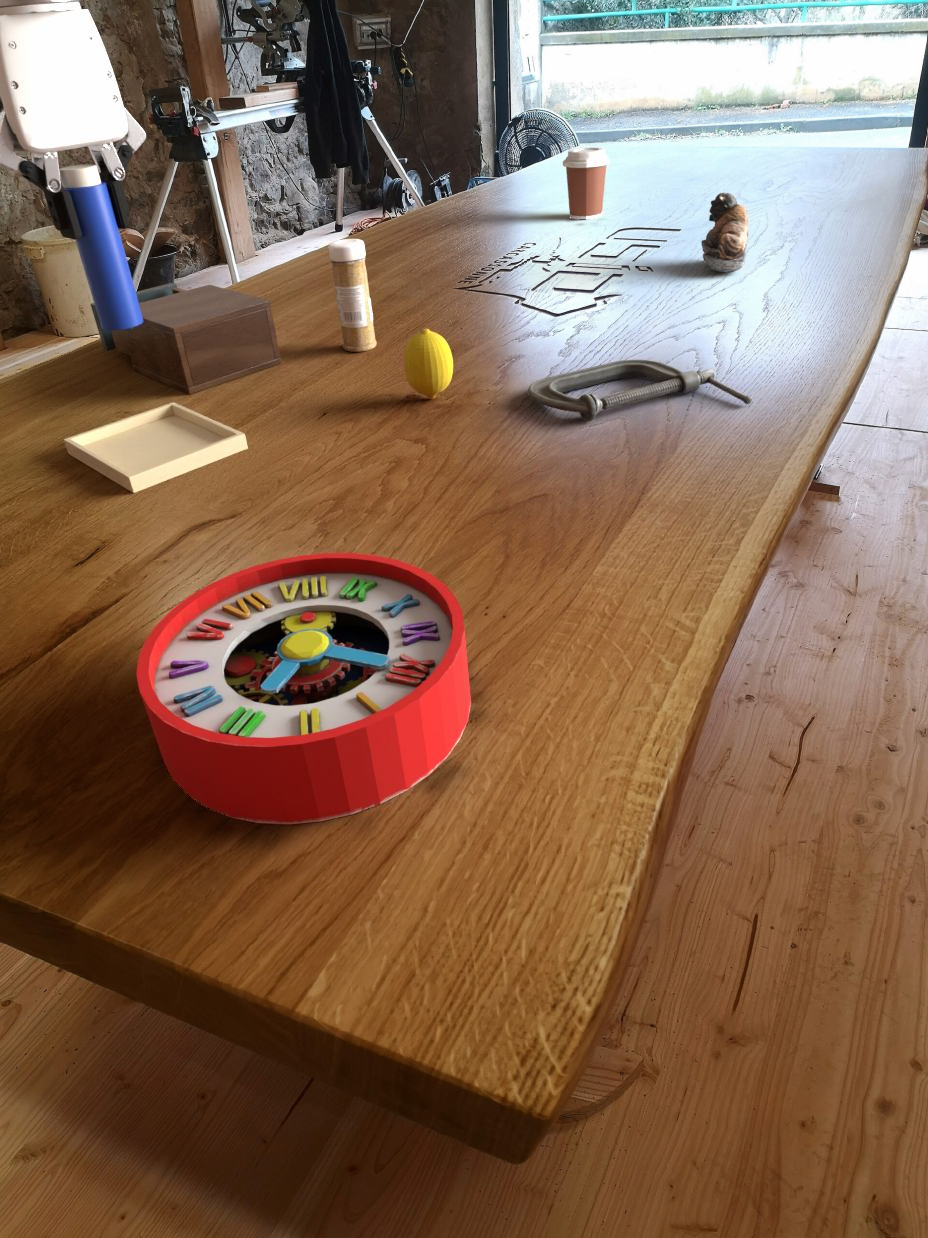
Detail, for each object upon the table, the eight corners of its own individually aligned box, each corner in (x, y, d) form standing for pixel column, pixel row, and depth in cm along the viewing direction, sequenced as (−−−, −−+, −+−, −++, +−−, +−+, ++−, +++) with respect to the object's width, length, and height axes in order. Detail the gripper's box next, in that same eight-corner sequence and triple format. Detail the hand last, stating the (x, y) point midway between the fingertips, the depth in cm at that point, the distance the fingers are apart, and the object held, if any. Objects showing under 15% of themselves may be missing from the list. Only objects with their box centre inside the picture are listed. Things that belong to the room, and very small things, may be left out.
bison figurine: (751, 275, 136) (759, 204, 131) (704, 278, 137) (710, 206, 131) (738, 256, 146) (745, 189, 140) (694, 259, 147) (699, 192, 141)
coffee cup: (585, 209, 186) (585, 145, 179) (618, 214, 180) (619, 147, 173) (553, 217, 182) (552, 151, 175) (586, 222, 176) (586, 154, 169)
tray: (68, 453, 97) (63, 439, 96) (176, 415, 104) (173, 401, 103) (133, 493, 88) (128, 477, 87) (248, 448, 95) (245, 433, 94)
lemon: (464, 393, 104) (459, 323, 99) (439, 410, 100) (433, 338, 95) (424, 387, 106) (417, 319, 102) (398, 403, 102) (390, 333, 98)
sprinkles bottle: (382, 343, 121) (370, 237, 114) (366, 354, 118) (352, 246, 110) (353, 341, 123) (338, 236, 115) (336, 351, 120) (320, 245, 112)
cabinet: (134, 371, 119) (116, 308, 114) (222, 343, 126) (209, 284, 122) (189, 394, 110) (173, 328, 105) (281, 363, 117) (269, 300, 113)
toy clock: (253, 536, 66) (509, 574, 59) (268, 602, 69) (512, 646, 63) (62, 705, 51) (376, 782, 44) (93, 779, 54) (390, 861, 48)
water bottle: (94, 326, 88) (47, 169, 80) (131, 316, 90) (89, 162, 83) (112, 333, 86) (65, 171, 78) (150, 322, 88) (108, 164, 80)
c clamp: (665, 359, 108) (666, 337, 107) (752, 405, 95) (755, 380, 93) (512, 391, 103) (511, 368, 102) (581, 445, 90) (582, 419, 88)
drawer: (90, 344, 127) (76, 298, 124) (168, 322, 134) (157, 278, 130) (150, 368, 116) (136, 319, 113) (232, 343, 123) (221, 296, 119)
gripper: (103, -10, 80) (158, 211, 90) (-95, 1, 71) (-9, 246, 81) (143, -17, 75) (195, 218, 86) (-64, -5, 66) (23, 256, 76)
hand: (95, 229), depth 83 cm, fingers closed on water bottle, 4 cm apart
